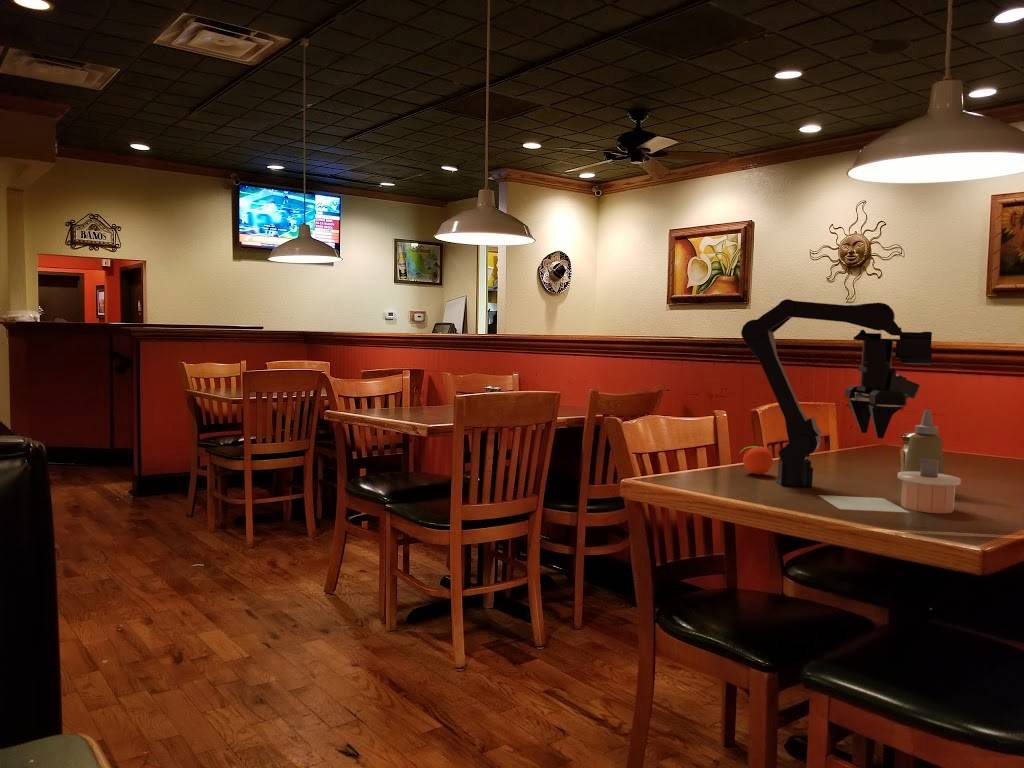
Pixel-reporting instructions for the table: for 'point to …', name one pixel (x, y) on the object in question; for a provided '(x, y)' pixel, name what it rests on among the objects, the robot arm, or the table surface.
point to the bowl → (927, 497)
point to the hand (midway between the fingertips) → (871, 435)
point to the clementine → (757, 460)
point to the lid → (929, 475)
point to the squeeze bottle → (924, 445)
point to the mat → (863, 504)
